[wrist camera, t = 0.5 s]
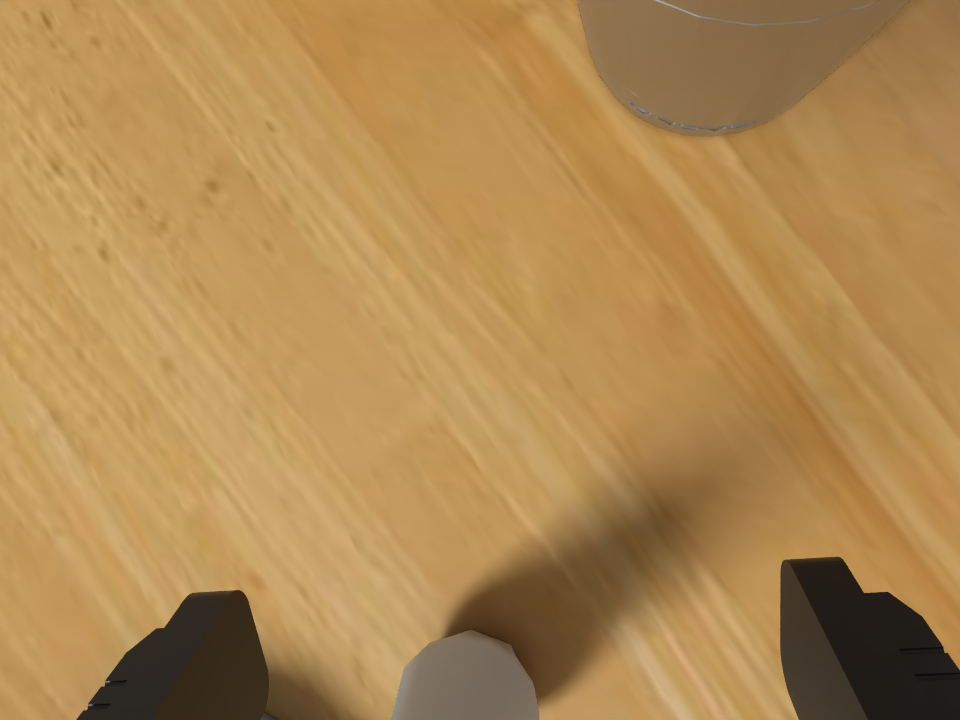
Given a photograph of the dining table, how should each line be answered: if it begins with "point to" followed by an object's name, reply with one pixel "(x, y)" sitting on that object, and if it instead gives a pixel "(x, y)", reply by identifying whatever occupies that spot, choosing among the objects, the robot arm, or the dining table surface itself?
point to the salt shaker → (466, 682)
